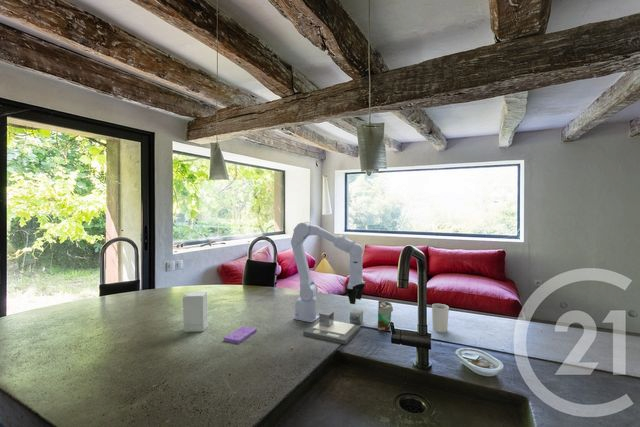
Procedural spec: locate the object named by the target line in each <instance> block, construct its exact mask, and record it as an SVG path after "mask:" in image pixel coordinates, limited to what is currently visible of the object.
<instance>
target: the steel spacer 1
mask: <svg viewBox="0 0 640 427" xmlns="http://www.w3.org/2000/svg"><path fill="white" fill-rule="evenodd" d="M318 316H319V318H318V321H319V326H324V327H330V326H331V325H333V324H334V321H335V320H334V318H335V317H334V311H330V310H322V311H321V312H320V313H319V314H318Z"/></svg>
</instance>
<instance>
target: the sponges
mask: <svg viewBox="0 0 640 427" xmlns="http://www.w3.org/2000/svg"><path fill="white" fill-rule="evenodd" d="M257 331H258V328H256V327H247V326H241V327H239V328H238V329H236V330H234V331H232V332H230V333H229V334H228V335H225V336H224V337H223V341H224V342H228V343H233V344H241V343H242V342H244V341H246V340H247V339H248V338H249V337H251V336H253V335H254V334H255V333H257Z"/></svg>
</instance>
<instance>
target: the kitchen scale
mask: <svg viewBox="0 0 640 427" xmlns="http://www.w3.org/2000/svg"><path fill="white" fill-rule="evenodd" d="M360 330H361V326H360V325H356V324H351V323H349V322H348V323H346V322H342V321H338V320H334V324H333V325H331V326H330V327H324V326H319V320H317V321H316V322H313V324H312V325H310V326H309V327H308V328H306V329H304V330H303V336H307V337H311V338H315V339H320V340H324V341H329V342H333V343H338V344H341V345H347V344H348V343H349V342H350V341H351V340H352V339H353V337H354V336H355V335H356V334H357V333H358V332H359V331H360Z"/></svg>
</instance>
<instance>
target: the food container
mask: <svg viewBox="0 0 640 427" xmlns="http://www.w3.org/2000/svg"><path fill="white" fill-rule="evenodd" d="M377 304H378V307H377V312H378V313H377V332H381V333H382V332H383V333H384V332H387V331H390V330H391V320H392V312H393V311H394V308H393V305H392V303H390V302H389V301H386V300H380V299H379V300H378V303H377ZM389 324H390V325H389Z"/></svg>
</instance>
